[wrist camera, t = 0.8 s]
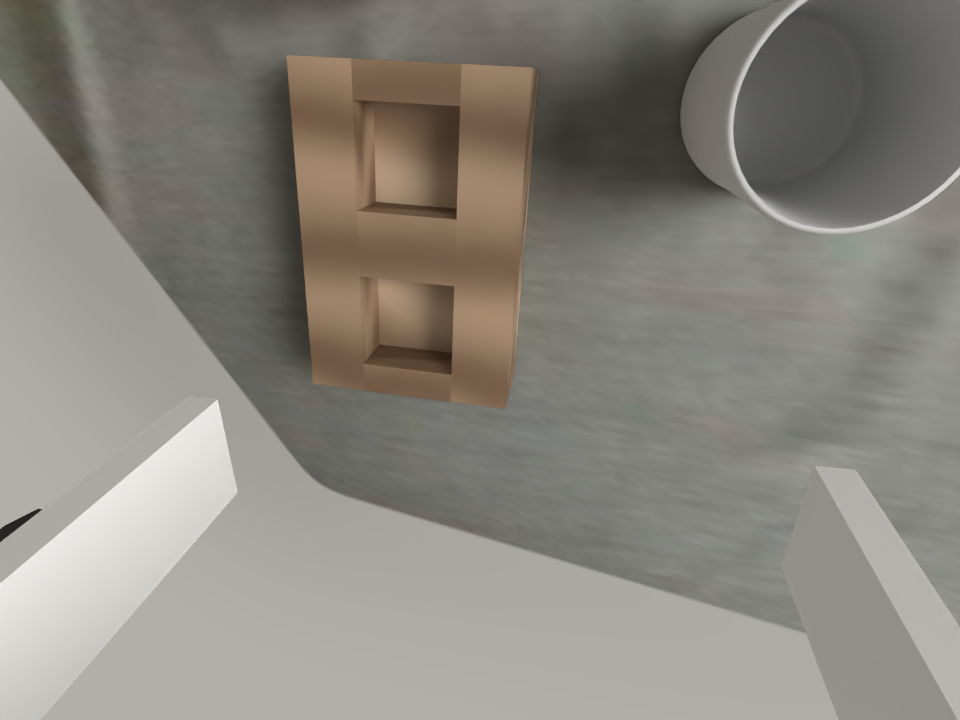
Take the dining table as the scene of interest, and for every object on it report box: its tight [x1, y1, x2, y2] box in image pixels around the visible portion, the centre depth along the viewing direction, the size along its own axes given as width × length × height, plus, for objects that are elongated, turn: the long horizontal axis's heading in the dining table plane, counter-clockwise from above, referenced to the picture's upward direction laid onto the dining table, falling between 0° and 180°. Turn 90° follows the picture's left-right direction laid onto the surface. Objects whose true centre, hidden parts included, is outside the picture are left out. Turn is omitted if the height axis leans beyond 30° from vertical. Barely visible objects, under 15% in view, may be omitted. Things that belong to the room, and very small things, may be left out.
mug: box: [680, 0, 960, 235], centre depth 23 cm, size 12×8×11 cm
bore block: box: [286, 55, 539, 409], centre depth 33 cm, size 18×12×4 cm, turn 177°
